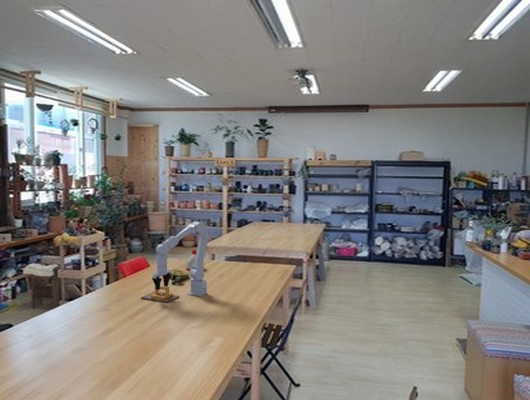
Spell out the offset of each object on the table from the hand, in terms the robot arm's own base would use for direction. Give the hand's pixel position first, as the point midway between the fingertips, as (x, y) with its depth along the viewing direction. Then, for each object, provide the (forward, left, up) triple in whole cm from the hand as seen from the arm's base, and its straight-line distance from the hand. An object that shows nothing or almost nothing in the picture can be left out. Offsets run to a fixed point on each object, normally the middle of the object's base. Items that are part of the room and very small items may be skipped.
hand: (161, 288), depth 235 cm
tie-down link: (0, 0, -5) cm, 5 cm away
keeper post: (0, 0, -6) cm, 6 cm away
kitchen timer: (+24, -74, -6) cm, 78 cm away
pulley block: (+17, -41, -7) cm, 45 cm away
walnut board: (+1, 0, -6) cm, 6 cm away
